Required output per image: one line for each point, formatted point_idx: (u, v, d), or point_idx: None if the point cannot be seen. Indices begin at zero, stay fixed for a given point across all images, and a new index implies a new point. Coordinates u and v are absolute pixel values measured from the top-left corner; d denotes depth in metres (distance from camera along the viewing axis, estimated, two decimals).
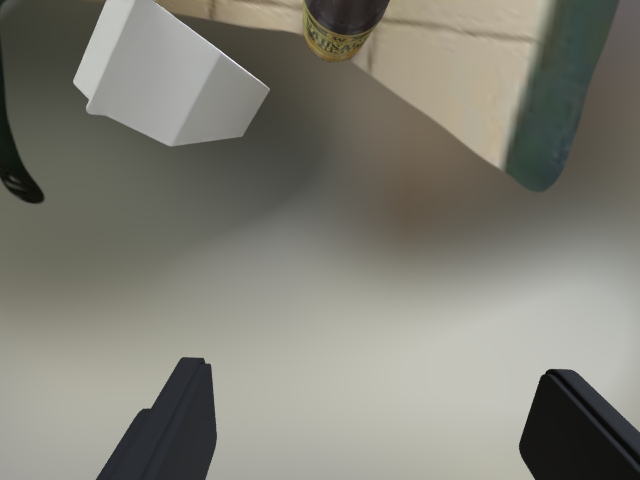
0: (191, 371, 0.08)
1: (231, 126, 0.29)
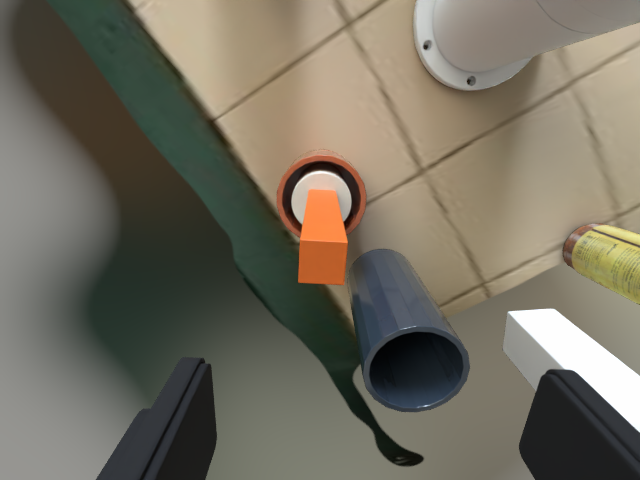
0: (191, 371, 0.08)
1: None
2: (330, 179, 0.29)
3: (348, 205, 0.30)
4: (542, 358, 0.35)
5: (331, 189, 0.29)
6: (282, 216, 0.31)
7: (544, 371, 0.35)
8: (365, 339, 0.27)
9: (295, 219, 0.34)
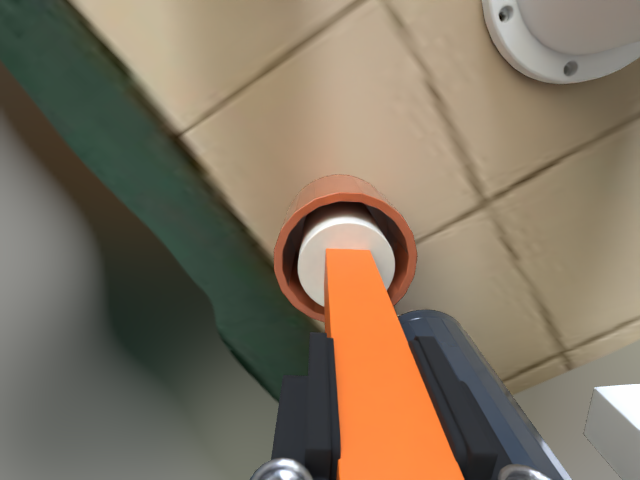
0: (325, 343, 0.09)
1: None
2: (361, 232, 0.17)
3: (390, 272, 0.18)
4: None
5: (363, 248, 0.18)
6: (283, 287, 0.19)
7: None
8: None
9: None
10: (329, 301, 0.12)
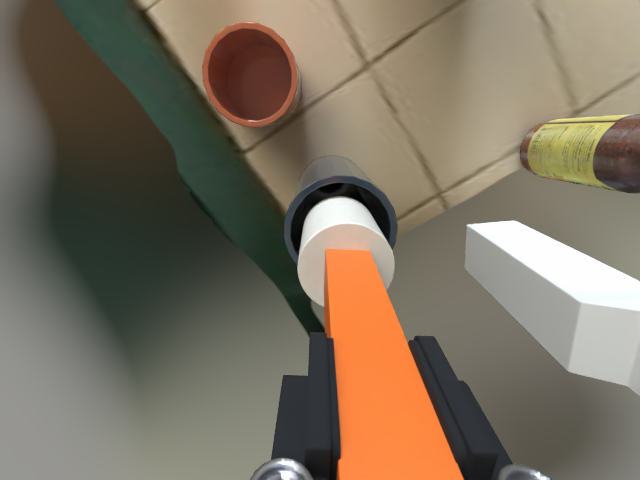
0: (325, 343, 0.09)
1: None
2: (361, 233, 0.17)
3: (390, 272, 0.18)
4: (495, 257, 0.34)
5: (362, 248, 0.18)
6: (210, 95, 0.29)
7: (498, 270, 0.34)
8: None
9: (230, 109, 0.32)
10: (329, 302, 0.12)
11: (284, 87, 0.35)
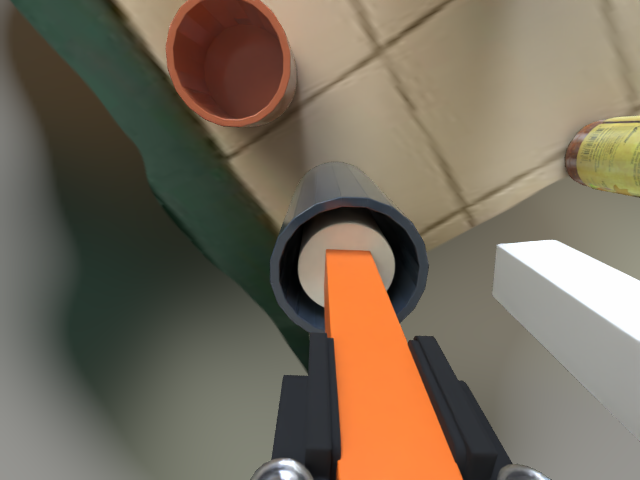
0: (325, 343, 0.09)
1: None
2: (361, 233, 0.17)
3: (390, 272, 0.18)
4: (540, 290, 0.27)
5: (363, 249, 0.18)
6: (177, 86, 0.22)
7: (543, 306, 0.27)
8: None
9: (206, 104, 0.25)
10: (329, 302, 0.12)
11: (276, 77, 0.28)
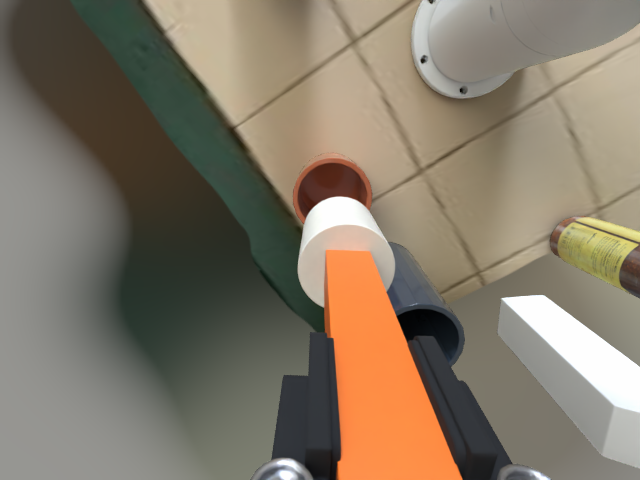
0: (325, 343, 0.09)
1: None
2: (361, 233, 0.17)
3: (390, 273, 0.18)
4: (531, 338, 0.39)
5: (363, 249, 0.18)
6: (298, 212, 0.35)
7: (533, 349, 0.39)
8: None
9: None
10: (329, 303, 0.12)
11: (349, 189, 0.40)
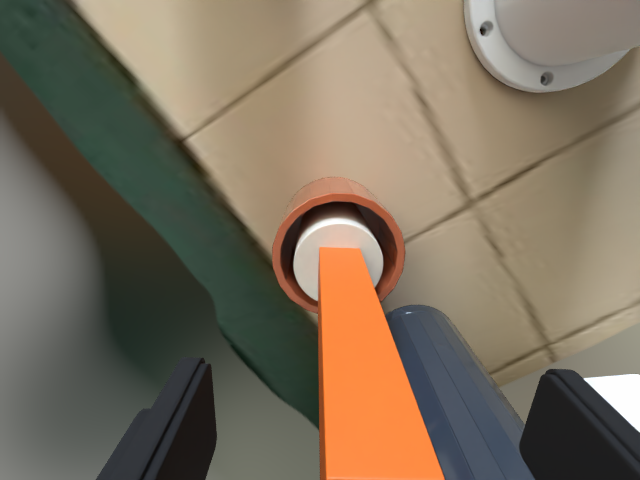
0: (191, 371, 0.08)
1: None
2: (352, 232, 0.19)
3: (378, 268, 0.20)
4: None
5: (353, 246, 0.19)
6: (281, 281, 0.21)
7: None
8: None
9: None
10: (321, 292, 0.14)
11: None
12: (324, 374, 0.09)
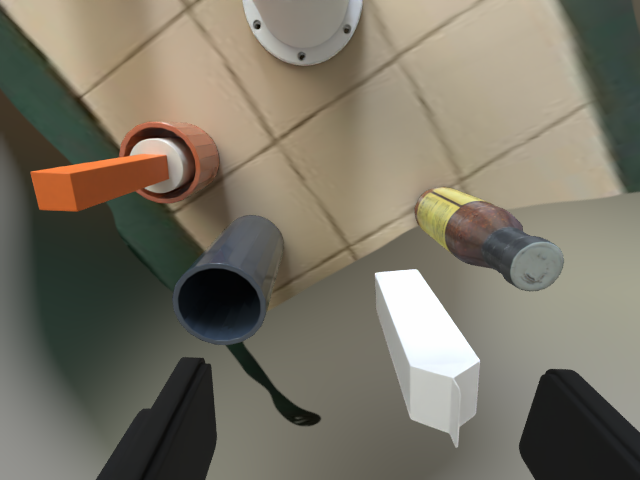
0: (191, 371, 0.08)
1: None
2: (160, 144, 0.32)
3: (180, 168, 0.33)
4: (384, 308, 0.39)
5: (162, 153, 0.33)
6: None
7: (386, 320, 0.39)
8: None
9: None
10: (108, 159, 0.27)
11: None
12: (65, 166, 0.23)
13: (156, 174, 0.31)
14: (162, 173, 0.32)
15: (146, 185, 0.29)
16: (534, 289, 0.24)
